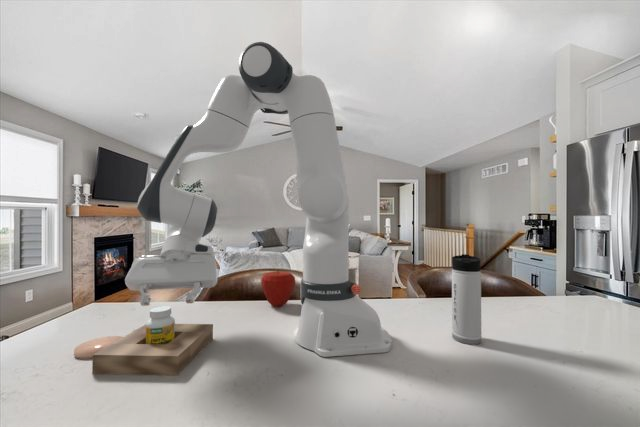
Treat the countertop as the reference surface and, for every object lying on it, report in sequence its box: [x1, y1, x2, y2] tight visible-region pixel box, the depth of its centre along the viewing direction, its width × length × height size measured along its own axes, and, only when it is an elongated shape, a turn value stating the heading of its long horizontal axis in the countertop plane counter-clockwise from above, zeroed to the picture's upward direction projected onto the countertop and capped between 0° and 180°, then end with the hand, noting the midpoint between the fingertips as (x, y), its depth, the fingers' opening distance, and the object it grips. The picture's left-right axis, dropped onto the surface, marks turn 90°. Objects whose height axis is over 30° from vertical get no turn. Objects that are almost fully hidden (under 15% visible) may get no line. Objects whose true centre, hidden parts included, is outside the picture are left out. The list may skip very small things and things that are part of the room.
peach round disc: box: [73, 335, 124, 360], centre depth 63 cm, size 9×9×1 cm
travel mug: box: [451, 253, 482, 345], centre depth 69 cm, size 6×7×20 cm
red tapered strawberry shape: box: [260, 269, 296, 308], centre depth 95 cm, size 11×11×12 cm
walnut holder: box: [91, 323, 214, 376], centre depth 60 cm, size 16×16×4 cm
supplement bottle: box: [146, 305, 176, 344], centre depth 60 cm, size 5×5×10 cm
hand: (167, 303), depth 65 cm, fingers open, 8 cm apart
